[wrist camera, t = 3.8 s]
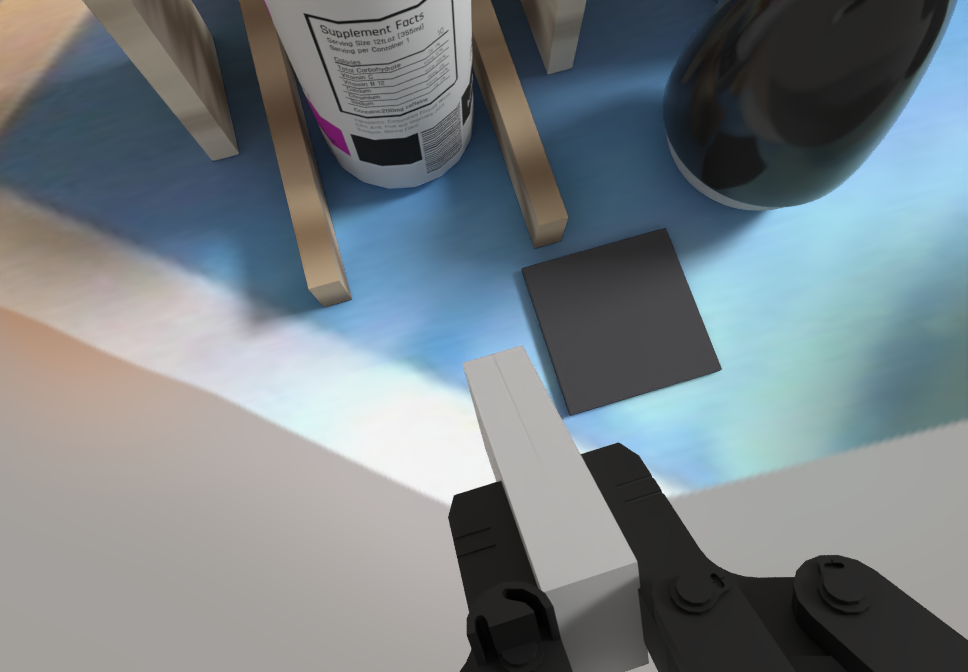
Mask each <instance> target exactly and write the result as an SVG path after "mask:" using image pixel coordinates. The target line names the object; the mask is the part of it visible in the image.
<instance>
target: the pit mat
mask: <svg viewBox="0 0 968 672" xmlns="http://www.w3.org/2000/svg"><path fill="white" fill-rule="evenodd" d="M522 273H523V276H524V279H525V282H526V285H527V288H528V291H529V294H530V297H531V300H532V303H533V306H534V309H535V312H536V315H537V318H538V321H539V324H540V327H541V330H542V333H543V336H544V339H545V342H546V345H547V348H548V351H549V354H550V358H551V361H552V364H553V367H554V370H555V373H556V376H557V379H558V382H559V385H560V388H561V391H562V394H563V397H564V400H565V403H566V406H567V409H568V412H569V415H570V416H571V415H574V414H577V413H581V412H584V411H587V410H591V409H594V408H597V407H601V406H604V405H607V404H611V403H614V402H617V401H621V400H624V399H627V398H631V397H634V396H637V395H640V394H644V393H647V392H650V391H654V390H657V389H660V388H664V387H667V386H670V385H674V384H677V383H680V382H684V381H687V380H690V379H694V378H697V377H700V376H704V375H707V374H710V373H714V372H717V371H720V370H722V368H721V366H720V363H719V361H718V358H717V356H716V353H715V351H714V348H713V346H712V343H711V341H710V338H709V336H708V333H707V331H706V328H705V326H704V323H703V321H702V318H701V316H700V313H699V310H698V308H697V305H696V303H695V300H694V298H693V295H692V293H691V290H690V288H689V285H688V283H687V280H686V278H685V275H684V273H683V270H682V268H681V265H680V263H679V260H678V258H677V255H676V253H675V250H674V248H673V245H672V243H671V240H670V238H669V235H668V233H667V230H666V228H663V229H660V230H656V231H652V232H649V233H645V234H642V235H638V236H635V237H631V238H628V239H624V240H620V241H617V242H613V243H610V244H606V245H603V246H599V247H596V248H592V249H588V250H585V251H581V252H578V253H574V254H571V255H567V256H564V257H560V258H556V259H553V260H549V261H546V262H542V263H539V264H535V265H532V266H528V267H524V268H522Z"/></svg>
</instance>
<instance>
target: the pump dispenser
mask: <svg viewBox="0 0 968 672" xmlns="http://www.w3.org/2000/svg"><path fill="white" fill-rule="evenodd" d="M957 1H958V0H719V1H718V3H717V4H716V5H715V6H714V8H713V9H712V10H711V11H710V13H709V14H708V15H707V17H706V18H705V19H704V21H703V22H702V23H701V25H700V26H699V27H698V29H697V30H696V32H695V33H694V34H693V36H692V37H691V39H690V40H689V42H688V43H687V45H686V46H685V48H684V49H683V51H682V52H681V54H680V56H679V58H678V59H677V61H676V63H675V65H674V67H673V69H672V71H671V74H670V76H669V78H668V81H667V84H666V87H665V91H664V97H663V119H664V125H665V129H666V136H667V142H668V145H669V149H670V152H671V155H672V157H673V160H674V161H675V163H676V165H677V167H678V169H679V170H680V172H681V173H682V175H683V176H684V177H685V178H686V180H687V181H688V182H689V183H690V184H691V185H692V186H693V187H695V188H696V189H697V190H698V191H699V192H701V193H702V194H704V195H705V196H707V197H709V198H710V199H712V200H714V201H716V202H718V203H721V204H723V205H726V206H730V207H733V208H738V209H744V210H759V211H760V210H772V209H778V208H783V207H791V206H797V205H802V204H805V203H809V202H812V201H814V200H817V199H819V198H821V197H823V196H825V195H827V194H829V193H830V192H832V191H833V190H835V189H836V188H838V187H839V186H840V185H842V184H843V183H844V182H845V181H846V180H847V179H849V178H850V177H851V176H852V175H853V174H854V173H855V172H856V171H857V170H858V169H859V168H860V167H861V166H862V165H863V163H864V162H865V161H866V160H867V159H868V158H869V156H870V155H871V154H872V153H873V151H874V150H875V149H876V148H877V146H878V145H879V144H880V142H881V141H882V140H883V139H884V137H885V136H886V135H887V133H888V132H889V131H890V129H891V128H892V126H893V125H894V124H895V122H896V121H897V119H898V118H899V116H900V115H901V113H902V112H903V110H904V109H905V107H906V105H907V104H908V102H909V101H910V99H911V97H912V96H913V94H914V92H915V90H916V89H917V87H918V85H919V83H920V82H921V80H922V78H923V76H924V74H925V73H926V71H927V69H928V67H929V65H930V64H931V62H932V60H933V58H934V56H935V54H936V52H937V50H938V48H939V46H940V44H941V42H942V40H943V38H944V35H945V33H946V31H947V28H948V26H949V23H950V21H951V18H952V16H953V13H954V10H955V7H956V4H957Z"/></svg>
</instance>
